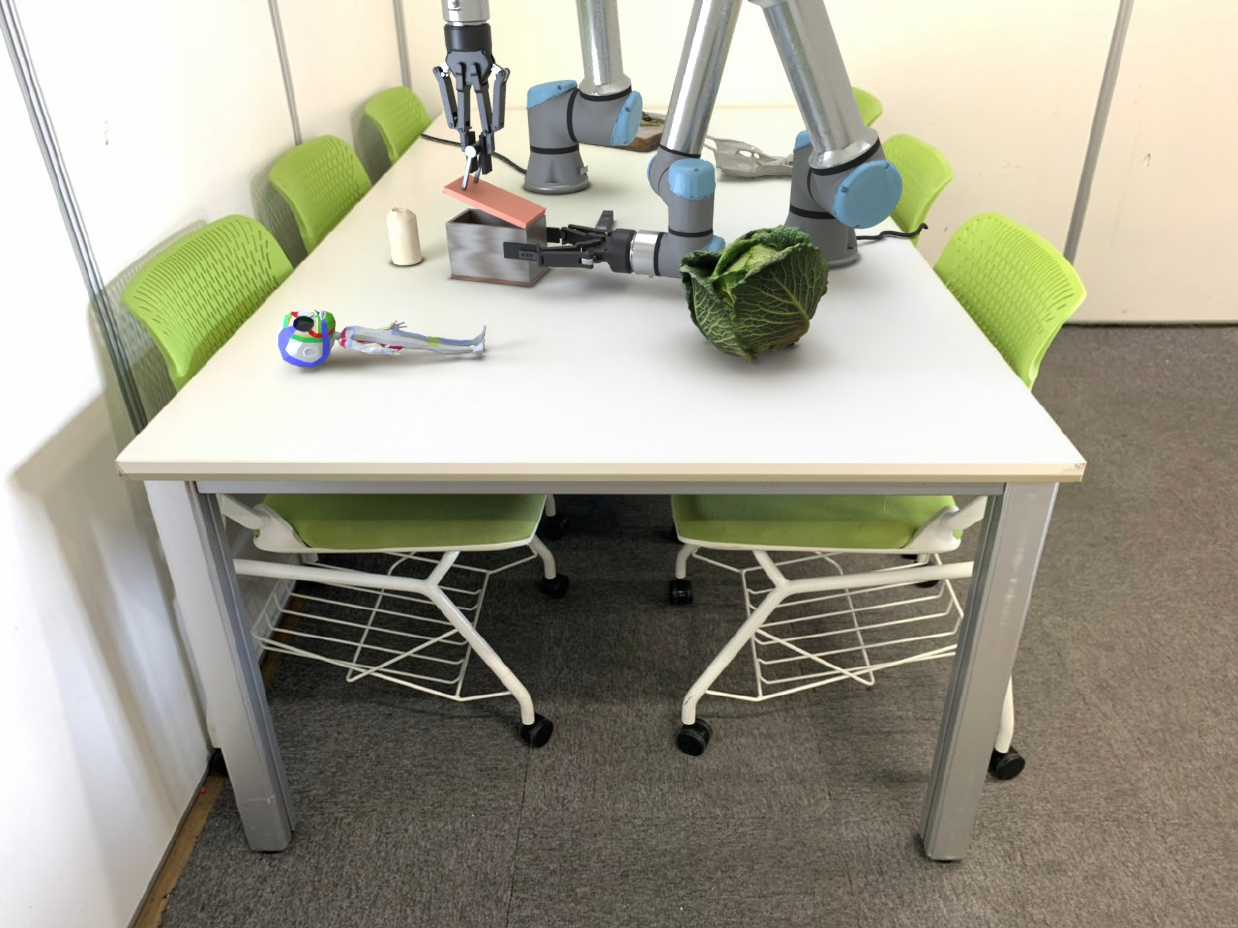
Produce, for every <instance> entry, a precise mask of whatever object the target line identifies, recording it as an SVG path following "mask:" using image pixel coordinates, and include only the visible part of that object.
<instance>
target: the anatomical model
mask: <svg viewBox="0 0 1238 928" xmlns="http://www.w3.org/2000/svg"><path fill="white" fill-rule="evenodd" d="M705 139H707V140H708V139H709V140H711V141H713V142H714V143H715V146H716V147H712V146H710V145H709V144H707V143H704V145H703V147H705V148H706V149H708V150H711V151H712V152H713V157H714V160H715V169H720V172H722V173H723V174H729V175H731V176H733V177H735V178H757V177H761V176H767V175H768V176H770V175H778V176H779V175H781V176H792V168H793V155H794V153H790V154H788V155H787V156H780V155H779V156H778V155H770V154H767V153H765V152H764V150H762V149H760V148H759V147H758V146H755V145H752V144H750V143H747V142H744V141H741V140H737V139H732V138H720V137H717V136H711V135H708V134H706V138H705ZM741 152H748V153H750V154H751V155H750V156H747V155H744V154H743V153H741ZM755 154H756V155H757V156H758V157H756V156H755Z"/></svg>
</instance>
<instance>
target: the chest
mask: <svg viewBox="0 0 1238 928" xmlns="http://www.w3.org/2000/svg"><path fill="white" fill-rule="evenodd" d="M444 224H445V232H446V241H447V248H448V249H447V250H448V258H449V265H450V274H451V275H450V276H451V279H453V280H463V281H473V282H480V283H481V282H482V283H490V284H499V285H509V286H520V287H529V288H531V287H532V286H533V285H534V284H535V283H536V282H537V281H539V280H540V278H542V277H543V276H544V275H545V274H546V273H548V272H549V270H550V267H537V261H528V260H518V259H508V258H504V251H503V243H504V242H512V243H523V244H534V245H536V244H538V243H539V244H540V247H549V246H548V245H549V244H548V243H547V227H548V226H547V215H546V214H544V215H543V216H541V217H540V218H539V219H538V220H536V221H535V222H534V223H532V224H531V225H530V226H529V227H527V228H526V229H523V228H521V227H519V226H517V225H514V224H512V223H510V222H508V221H505V220H503V219H501V218H499V217H496V216H494V215H492V214H489V213H487V212H485V211H483V210H480V209H478V208H466V209H464V210H463V211H462V212H460V213H458V214H457V215H454V217H452V218H451V219H449V220H447V221H445V223H444Z"/></svg>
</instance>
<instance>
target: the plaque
mask: <svg viewBox="0 0 1238 928" xmlns="http://www.w3.org/2000/svg"><path fill="white" fill-rule="evenodd" d="M666 116H667V114H663V113H659V112H650V111H644V110H642V118H641V123H640V126H639V130H638V133H637V135H636V137H635V139H634V140H633V141H632V143H630V144H629V145H626V146H611V145H604V146H607V147H612V148H620V149H625V150H632V151H640V152H648V151H654V150H656V149H657V150H658V148H659V144H660V140H661V136H662V132H663V128H664V124H665V120H666ZM598 145H599V144H597V146H598ZM599 146H600V145H599Z"/></svg>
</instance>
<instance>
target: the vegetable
mask: <svg viewBox="0 0 1238 928" xmlns="http://www.w3.org/2000/svg"><path fill="white" fill-rule="evenodd" d="M679 271H680V274H681V279H680V280H681V286H682V289H683V290H684V291H685V292H686V293H685V301H686V304H687V310H688V311H689V312H690V313H689V314H690V315H689V318H690V319H691V322H692V324H693V325H694V326H695V327H697V329H698V330H699V332H700V333H701V335H702V336H703V337H704V338H705V339H706V340H707V341H710V342H711V344H712V345H713V347H715V348H717V349H718V350H720V351H721V352H722V353H724V354H726V355H729V356H732V357H737V358H741V359H744V360H746V361H747V362H748V363H749V364H751V363H752V360H759V358H758V357H757V356H756V355H759V354H761V353H762V352H763V351H765V350H769V351H773V352H780V350H781V349H782V348H785V347H792V346H793V347H794V346H795V344H796V343H799V341H800V340H801V337H803V336H805V335H806V334H807V333H808V331H809V329H810V324H811V322H810V321H811V320H813V318H814V316H815V314H816V312H817V310H818V305H819V303H820V301H821V299H822V297H824V296H825V295H826V294H827V292H828V290H829V289H828V285H829V283H830V281H828V277H829V272H830V268H828V267H827V263H826V260H825V259H824V258H823V257H822V255H821V251H820V250H819V249H818V247H815V248H814V247H813V245H812V240H811V237H810V236H809V234H806V233H804V232H802V231H800V228H799V227H786V226H785V225H784V224H779V225H777V226H776V227H769V228H768V227H767V228H766V227H762V228H757V229H754V230H753V229H752V230H750V231H747V232H746V233H745V234H742V235H741V236H739V237H737V238H736V239H735V240H734V241H733V242H731V243H728V244H726V248H725V249H723V250H720V251H718V252H711V251H698V250H697V251H694V252H691V253H688V254H687V255H684V256H683V257H682V258H681V263H680V266H679Z"/></svg>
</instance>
